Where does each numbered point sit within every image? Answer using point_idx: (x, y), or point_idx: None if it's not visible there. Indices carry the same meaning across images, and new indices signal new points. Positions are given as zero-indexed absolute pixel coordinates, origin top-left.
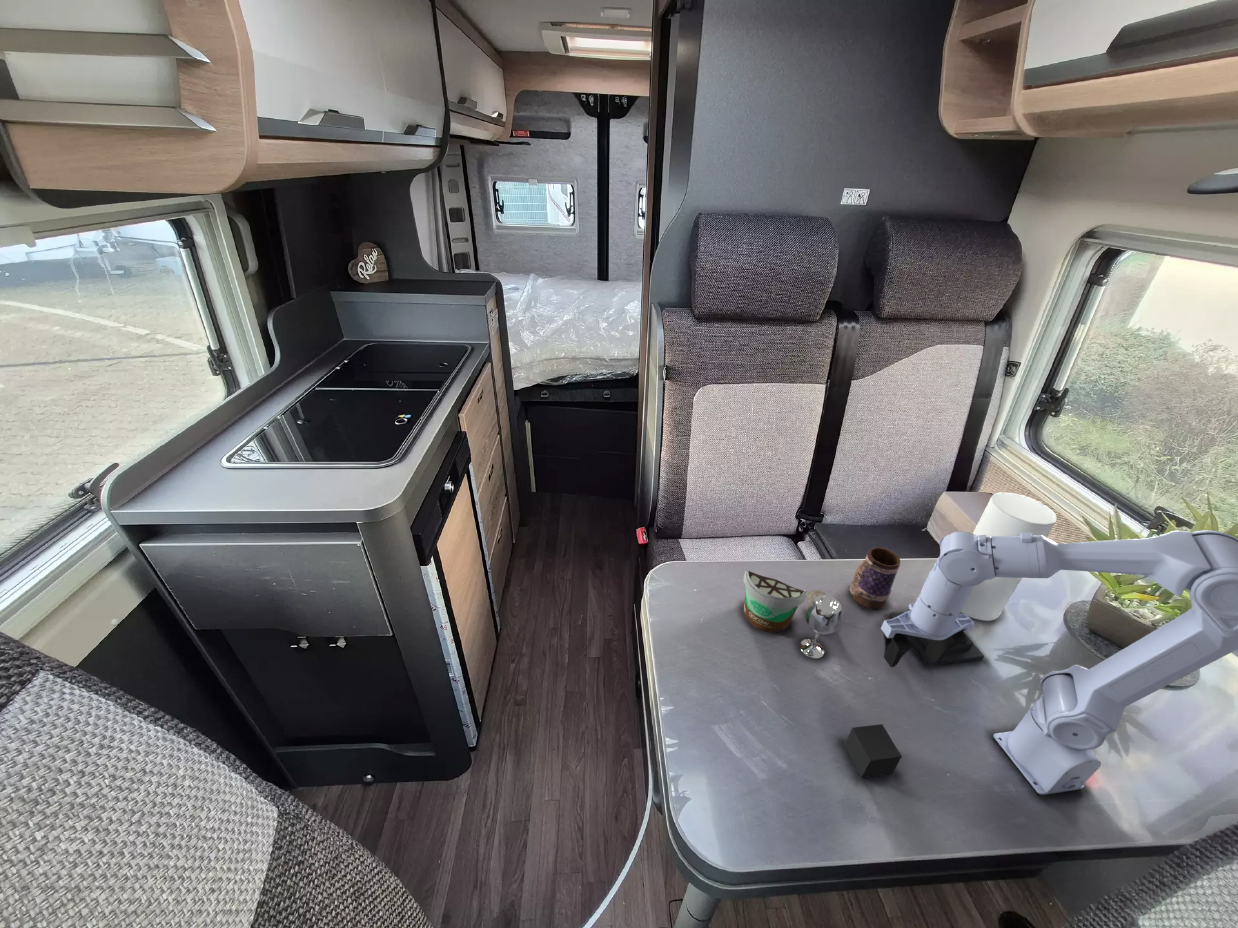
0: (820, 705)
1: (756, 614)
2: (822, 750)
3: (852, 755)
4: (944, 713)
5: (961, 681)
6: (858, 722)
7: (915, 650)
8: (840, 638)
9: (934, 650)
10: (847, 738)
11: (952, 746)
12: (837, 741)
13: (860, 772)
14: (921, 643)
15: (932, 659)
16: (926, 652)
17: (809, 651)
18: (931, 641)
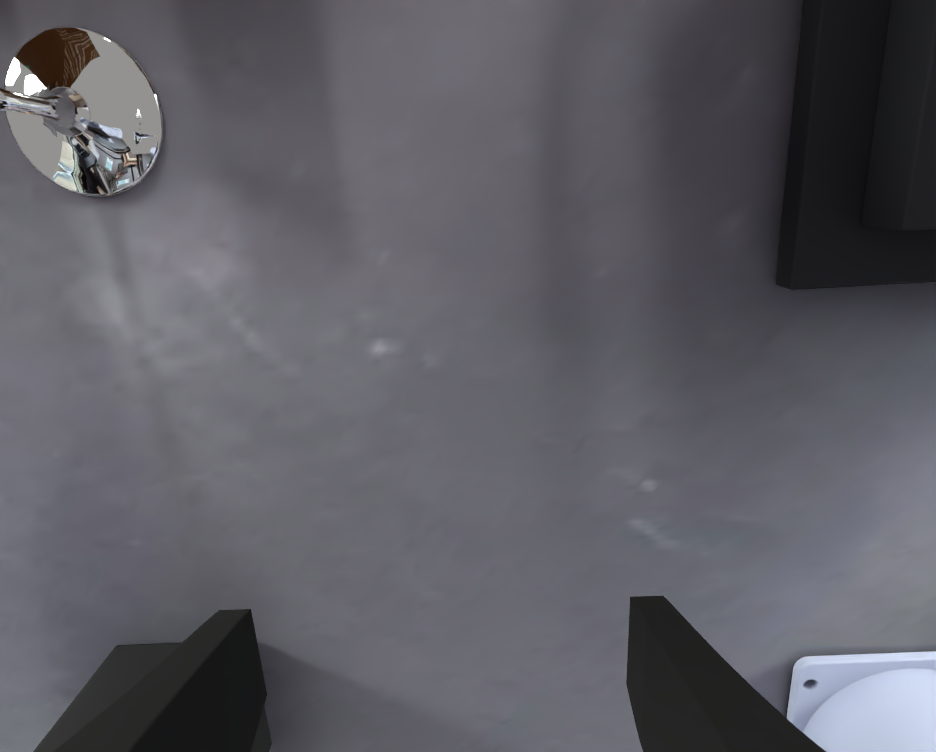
0: (55, 480)
1: None
2: (19, 657)
3: None
4: (657, 552)
5: (898, 397)
6: (216, 565)
7: (788, 173)
8: (317, 29)
9: (668, 748)
10: (86, 686)
11: (581, 677)
12: (93, 631)
13: None
14: (865, 136)
15: (634, 689)
16: (635, 618)
17: (48, 148)
18: (693, 725)
